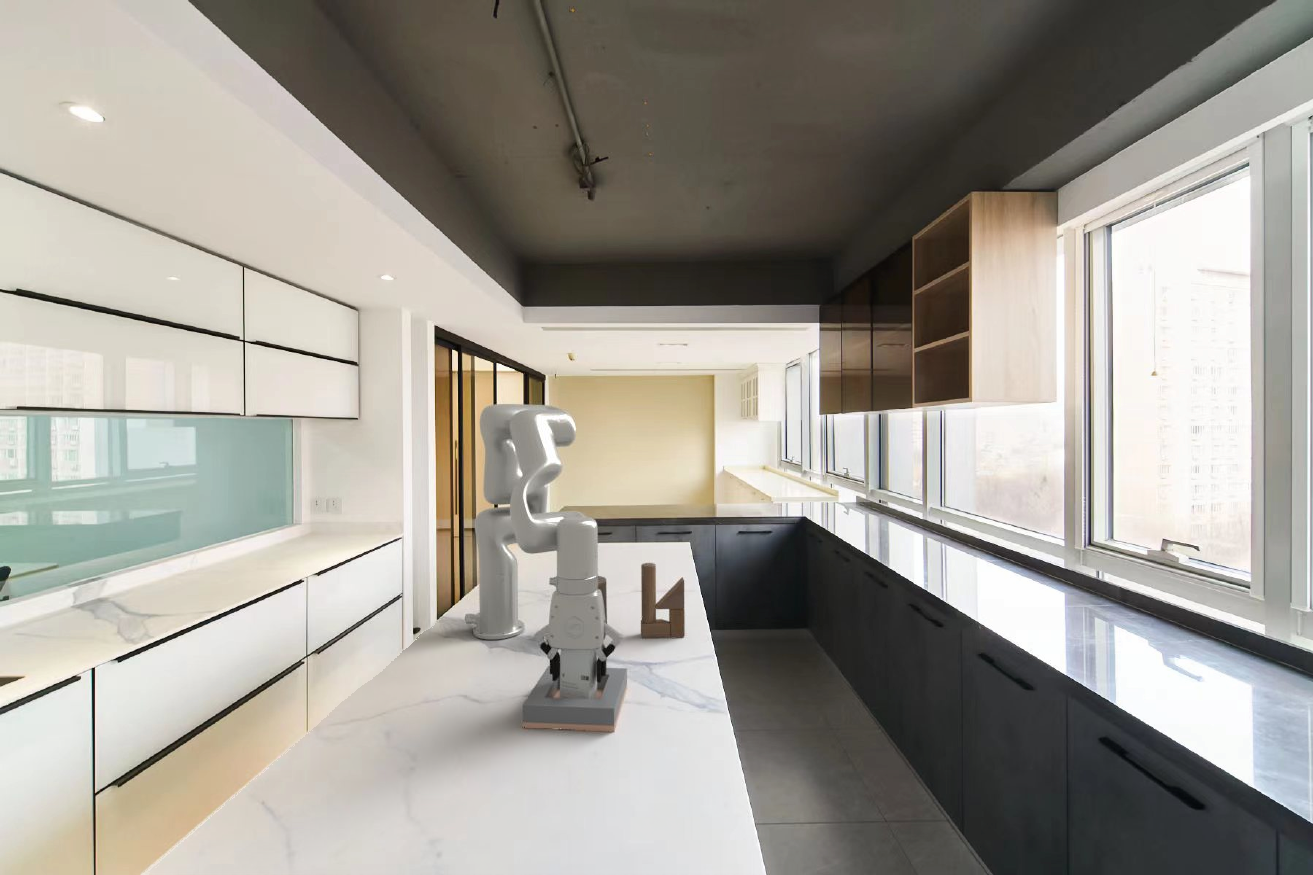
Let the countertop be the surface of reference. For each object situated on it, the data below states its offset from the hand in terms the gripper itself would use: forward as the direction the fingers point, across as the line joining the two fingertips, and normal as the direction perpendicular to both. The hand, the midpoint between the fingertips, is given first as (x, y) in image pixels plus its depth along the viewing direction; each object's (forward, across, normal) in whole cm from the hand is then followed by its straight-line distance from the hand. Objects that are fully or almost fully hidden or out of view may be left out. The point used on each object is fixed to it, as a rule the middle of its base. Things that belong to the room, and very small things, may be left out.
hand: (578, 677), depth 104 cm
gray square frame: (+5, 0, 0) cm, 5 cm away
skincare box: (+5, 0, 0) cm, 5 cm away
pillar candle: (+6, -6, +37) cm, 38 cm away
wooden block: (+6, +13, +37) cm, 40 cm away
